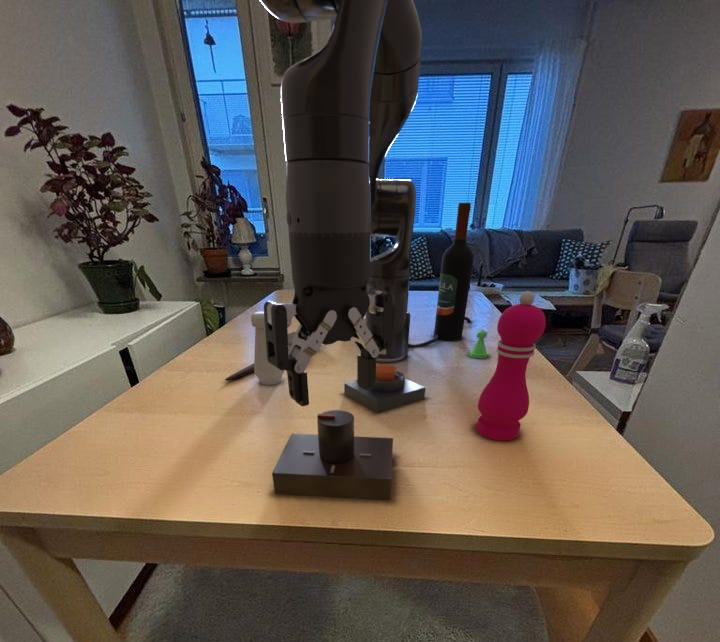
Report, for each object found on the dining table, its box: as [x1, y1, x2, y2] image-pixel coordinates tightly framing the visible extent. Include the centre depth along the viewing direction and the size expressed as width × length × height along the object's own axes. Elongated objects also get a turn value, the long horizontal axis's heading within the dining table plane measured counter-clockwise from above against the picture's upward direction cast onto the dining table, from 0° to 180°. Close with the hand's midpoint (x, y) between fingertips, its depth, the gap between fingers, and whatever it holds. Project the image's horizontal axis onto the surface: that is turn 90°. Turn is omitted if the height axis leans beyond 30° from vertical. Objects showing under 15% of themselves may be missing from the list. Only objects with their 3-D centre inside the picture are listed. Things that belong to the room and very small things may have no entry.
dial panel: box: [271, 433, 394, 501], centre depth 50 cm, size 14×10×3 cm
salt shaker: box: [250, 310, 285, 386], centre depth 75 cm, size 6×6×13 cm
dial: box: [316, 409, 355, 463], centre depth 48 cm, size 4×4×5 cm
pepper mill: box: [476, 290, 547, 441], centre depth 56 cm, size 7×7×20 cm
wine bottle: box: [433, 202, 474, 342], centre depth 99 cm, size 8×8×30 cm
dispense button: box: [376, 364, 397, 380], centre depth 70 cm, size 4×4×2 cm
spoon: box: [224, 331, 310, 381], centre depth 90 cm, size 11×33×3 cm, turn 152°
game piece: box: [468, 329, 489, 359], centre depth 92 cm, size 4×4×6 cm
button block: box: [343, 370, 426, 414], centre depth 72 cm, size 11×10×4 cm
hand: (334, 395), depth 45 cm, fingers open, 8 cm apart
